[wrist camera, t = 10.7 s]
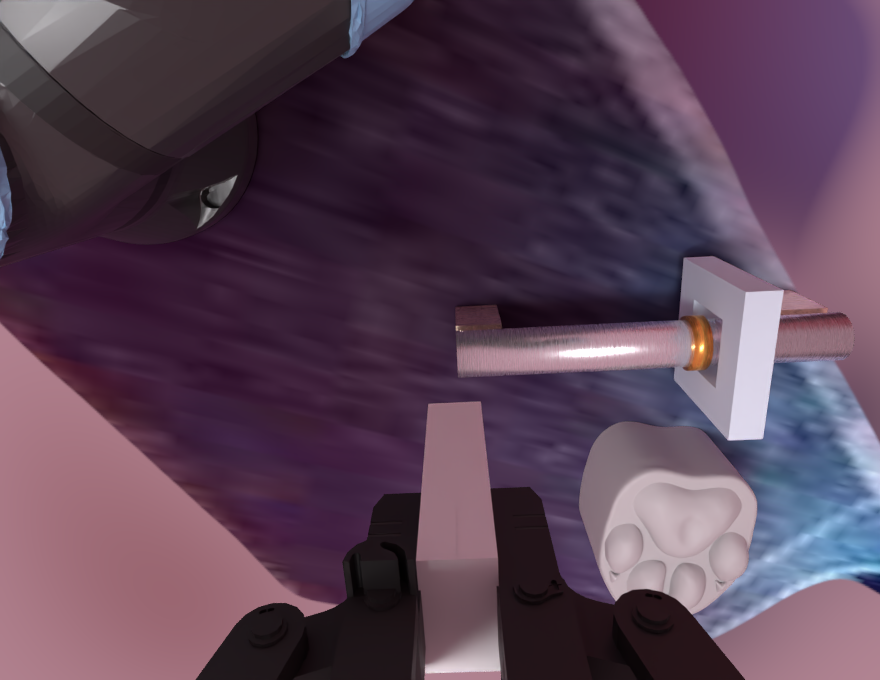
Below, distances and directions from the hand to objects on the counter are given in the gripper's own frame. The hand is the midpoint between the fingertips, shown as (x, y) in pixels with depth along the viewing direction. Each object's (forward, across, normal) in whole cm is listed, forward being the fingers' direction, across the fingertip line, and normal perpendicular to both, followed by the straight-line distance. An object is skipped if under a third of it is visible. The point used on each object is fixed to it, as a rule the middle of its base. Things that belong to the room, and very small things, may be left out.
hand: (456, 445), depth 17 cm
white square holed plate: (+25, +17, -5) cm, 30 cm away
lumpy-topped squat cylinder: (+27, +15, -20) cm, 37 cm away
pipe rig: (+26, +12, -5) cm, 29 cm away
